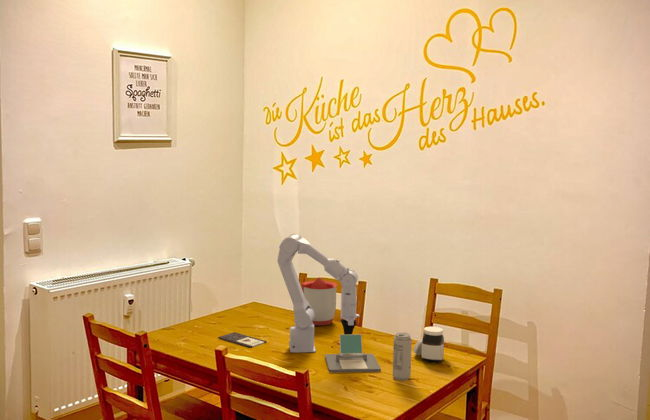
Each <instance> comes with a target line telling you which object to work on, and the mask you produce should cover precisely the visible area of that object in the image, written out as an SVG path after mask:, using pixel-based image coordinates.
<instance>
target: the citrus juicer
mask: <svg viewBox="0 0 650 420" xmlns="http://www.w3.org/2000/svg"><path fill="white" fill-rule="evenodd" d="M337 287H338V284H337V283H335V282H333V281H328V280H323V279H322V278H321V277H318V278H316V279H315V280H308V281H304V282H302V283H301V288H302V291H303V293H304V296H305V299H306V300H307V301H308V302H309V305H310V307H311V308H312V309H313V310H314V311H315V318H314V320H313V321H312V322H313V324H314V326H329V325H330V324H332V322H333V320H334V317H335V314H336V311H337V310H336V309H337Z"/></svg>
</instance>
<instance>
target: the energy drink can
mask: <svg viewBox="0 0 650 420" xmlns="http://www.w3.org/2000/svg"><path fill="white" fill-rule="evenodd" d="M412 341H413V339H412V338H411V334H410V333H407V332H396V333H395V336H394V338H393V349H392V350H393V351H392V353H393V354H392V376H393V377H394V379H395V380H397V381H403V382H404V381H408V380H409V379H410V377H411V372H412V371H411V369H412V368H411V367H412Z"/></svg>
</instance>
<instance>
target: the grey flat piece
mask: <svg viewBox="0 0 650 420" xmlns="http://www.w3.org/2000/svg"><path fill="white" fill-rule="evenodd" d="M324 359H325V362H326V366H327V369H328V373H335V374H336V373H380V372H381V371H382V368H381V366H380V365H379V362H378V361H377V358H376V357H375V354H374V353H362V354H340V353H335V354H333V353H329V354H326V353H325V354H324Z"/></svg>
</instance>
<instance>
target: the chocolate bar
mask: <svg viewBox="0 0 650 420" xmlns="http://www.w3.org/2000/svg"><path fill="white" fill-rule="evenodd" d="M218 338H219V340H222V341H225V342H229V343H232V344H235V345H240V346H243V347H246V348H248V349H252V348H254V347H257V346H260V345H263V344H266V343H267V340H264V339H260V338H256V337H254V336H253V337H252V336H250V335H247V334H243V333H240V332H239V333H238V332H235V331H234V332H231V333H228V334H223V335H220V336H218V337H217V339H218Z"/></svg>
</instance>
